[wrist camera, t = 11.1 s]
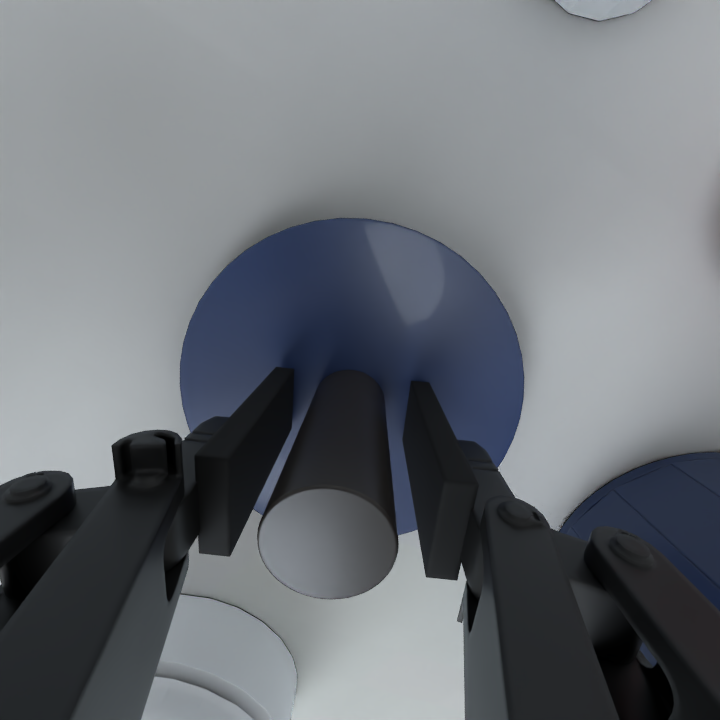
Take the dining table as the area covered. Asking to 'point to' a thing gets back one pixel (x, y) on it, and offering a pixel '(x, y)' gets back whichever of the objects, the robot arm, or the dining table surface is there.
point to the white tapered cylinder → (602, 7)
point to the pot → (665, 516)
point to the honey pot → (221, 667)
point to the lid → (350, 382)
